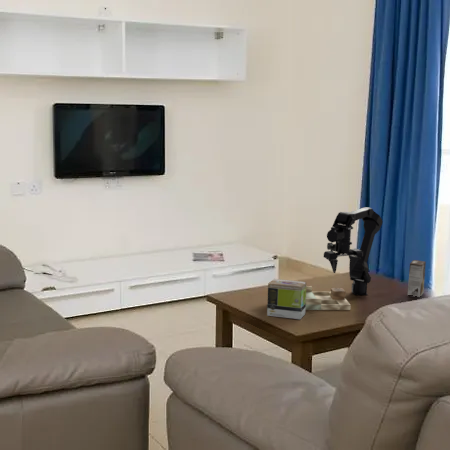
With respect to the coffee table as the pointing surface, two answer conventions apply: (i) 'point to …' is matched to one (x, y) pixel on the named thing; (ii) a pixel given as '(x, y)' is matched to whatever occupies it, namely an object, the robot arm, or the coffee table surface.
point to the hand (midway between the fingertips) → (342, 271)
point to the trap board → (324, 301)
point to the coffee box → (416, 278)
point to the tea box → (286, 298)
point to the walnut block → (337, 294)
